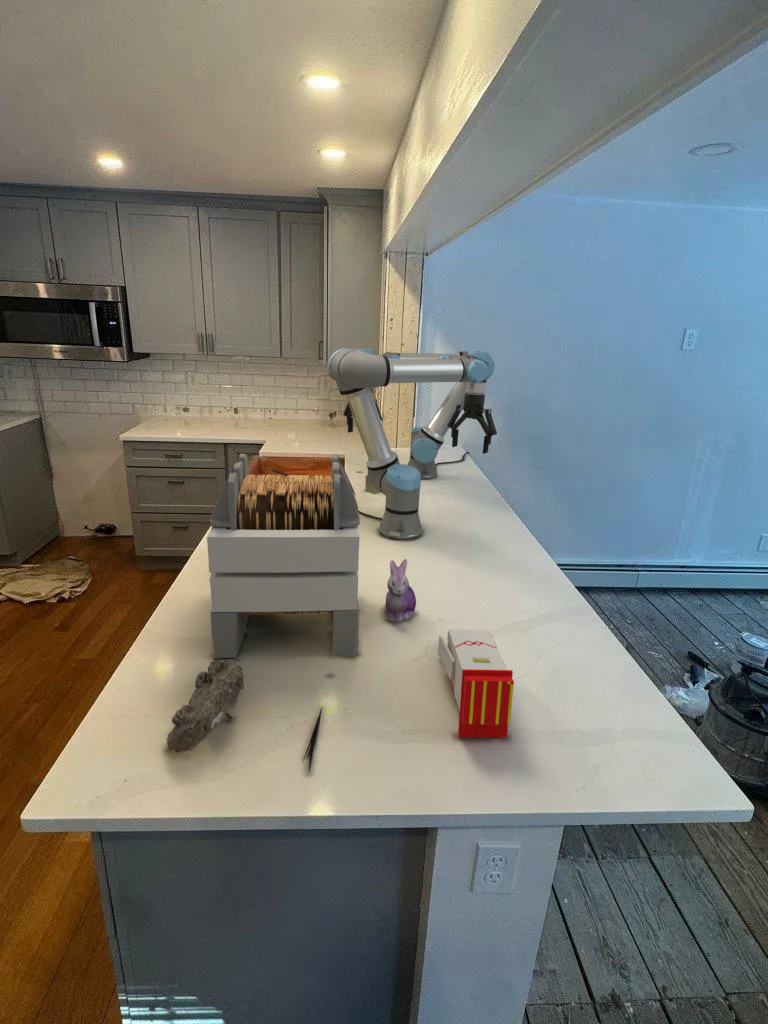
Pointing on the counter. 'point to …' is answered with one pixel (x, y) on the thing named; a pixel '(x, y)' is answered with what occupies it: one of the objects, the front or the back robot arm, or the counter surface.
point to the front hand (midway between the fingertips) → (469, 449)
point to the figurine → (399, 594)
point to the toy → (478, 682)
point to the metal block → (370, 486)
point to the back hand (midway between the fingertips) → (362, 434)
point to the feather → (313, 740)
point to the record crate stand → (284, 553)
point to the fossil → (206, 705)
